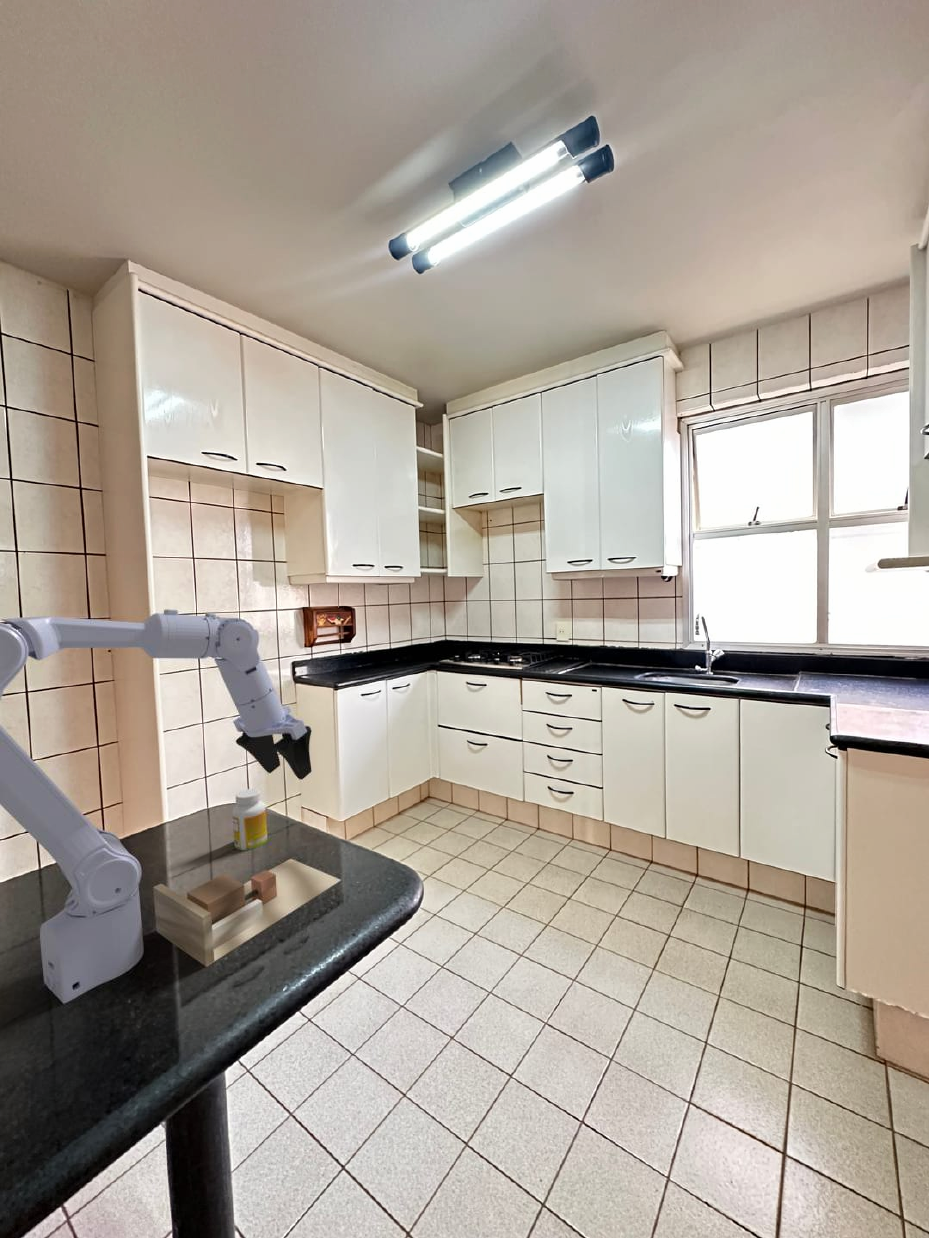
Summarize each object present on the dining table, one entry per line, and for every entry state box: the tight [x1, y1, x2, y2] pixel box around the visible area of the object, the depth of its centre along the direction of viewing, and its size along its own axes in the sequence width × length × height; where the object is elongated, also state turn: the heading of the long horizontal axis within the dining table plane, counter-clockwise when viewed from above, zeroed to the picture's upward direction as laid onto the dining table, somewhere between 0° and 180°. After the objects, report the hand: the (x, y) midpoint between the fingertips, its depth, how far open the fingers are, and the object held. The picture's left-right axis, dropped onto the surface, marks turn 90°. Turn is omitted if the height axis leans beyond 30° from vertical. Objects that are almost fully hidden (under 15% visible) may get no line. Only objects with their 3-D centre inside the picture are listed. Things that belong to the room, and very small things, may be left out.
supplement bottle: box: [232, 788, 268, 851], centre depth 92 cm, size 5×5×10 cm
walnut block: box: [186, 869, 277, 925], centre depth 71 cm, size 11×5×5 cm, turn 146°
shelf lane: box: [152, 858, 342, 967], centre depth 74 cm, size 21×12×7 cm, turn 146°
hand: (289, 772), depth 80 cm, fingers open, 7 cm apart
